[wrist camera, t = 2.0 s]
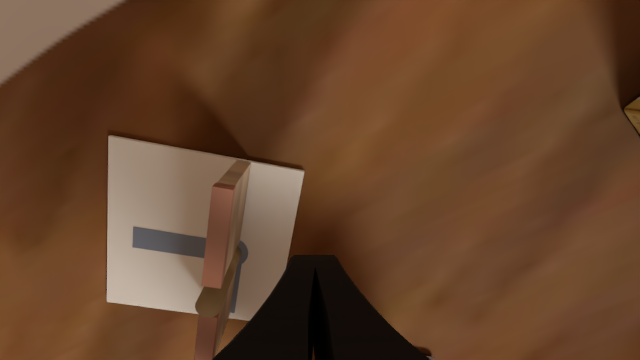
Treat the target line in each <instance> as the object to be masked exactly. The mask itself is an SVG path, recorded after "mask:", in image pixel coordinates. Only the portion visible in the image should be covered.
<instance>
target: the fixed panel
mask: <svg viewBox="0 0 640 360" xmlns="http://www.w3.org/2000/svg"><path fill="white" fill-rule="evenodd" d="M241 254H242V252H241V249H240V248H239V247H238V246H237V249H236V251H235V253H234V256H233V258H232V260H231V263H230V265H229V267H228V270H227V272H226V275H225V277H224V282H223V284H222V287H221V289H219V288H212V287H205V286H204V287H203V289H202V291H201V293H200V295H199V297H198V299H197V301H196V304H195V309H196V311H197V313H198V314H199V318H198V328H197V337H196V346H195V355H194V360H212V359H213V358H214V357H215V356H216V354H217V351H218V348H219V345H220V342H221V339H222V336H223V333H224V330H225V327H226V324H227V321H228V318H229V315H230V309H231V302H232V295H233V288H234V281H235V274H236V268H237V265H238V263H239V260H240V257H241Z"/></svg>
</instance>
